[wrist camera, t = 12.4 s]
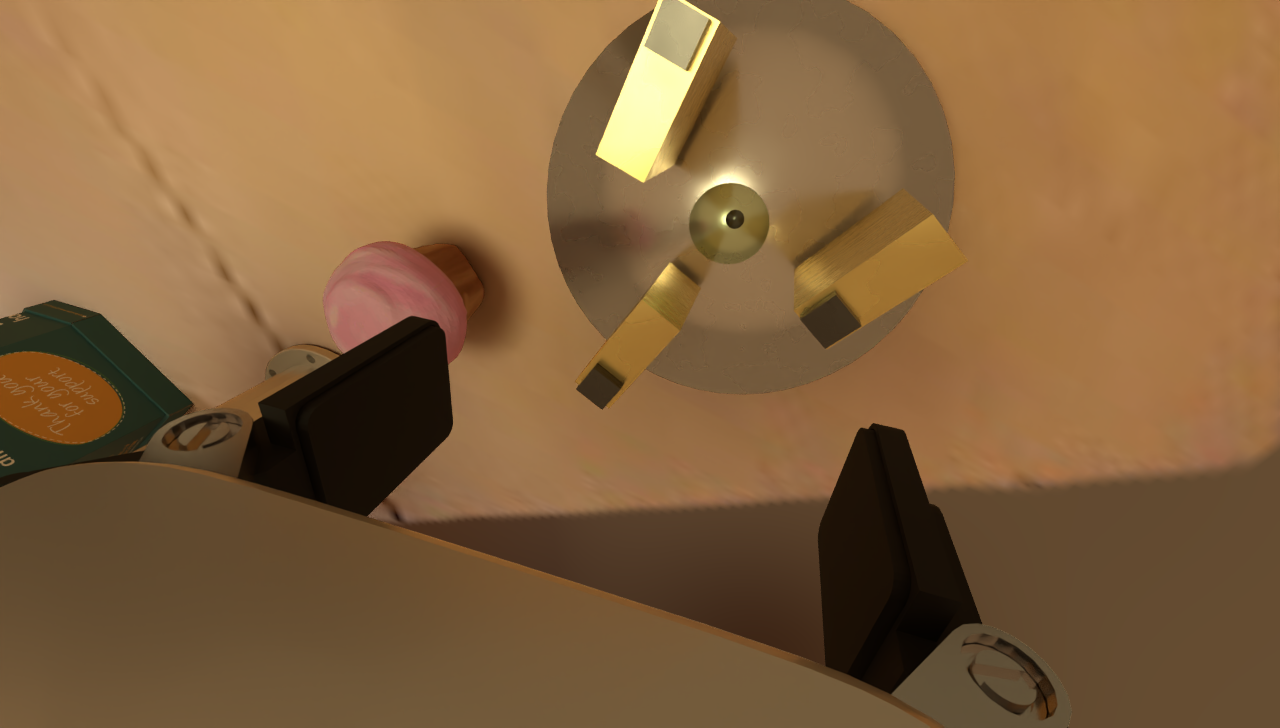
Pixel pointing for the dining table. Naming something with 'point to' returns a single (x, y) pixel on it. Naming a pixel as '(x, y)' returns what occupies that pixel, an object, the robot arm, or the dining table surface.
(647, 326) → the golden block
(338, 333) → the cupcake
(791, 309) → the plate
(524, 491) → the dining table surface
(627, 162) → the gold rectangular block
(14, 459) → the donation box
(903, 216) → the gold flat block
